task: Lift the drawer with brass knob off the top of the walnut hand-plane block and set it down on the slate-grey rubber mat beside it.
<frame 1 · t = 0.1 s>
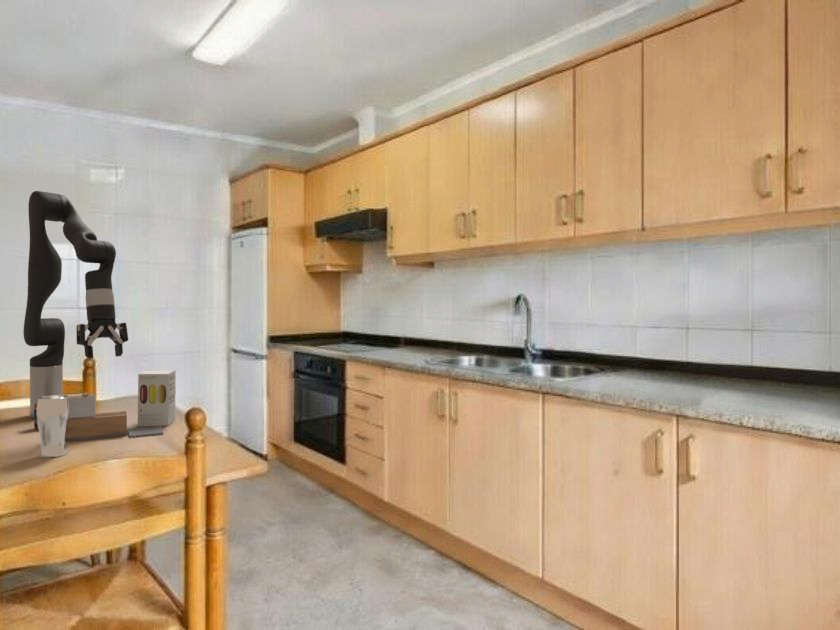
hand: (104, 357, 165), 22 cm above the table, tool pointing down, fingers open, 8 cm apart
beer glass: (53, 455, 139), on the table
supplement bottle: (44, 428, 167), on the table
supplement box: (157, 423, 176), on the table
mat: (145, 432, 163), on the table
drawer with brass knob: (79, 416, 157), point 6 cm above the table, touching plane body
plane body: (91, 436, 158), on the table
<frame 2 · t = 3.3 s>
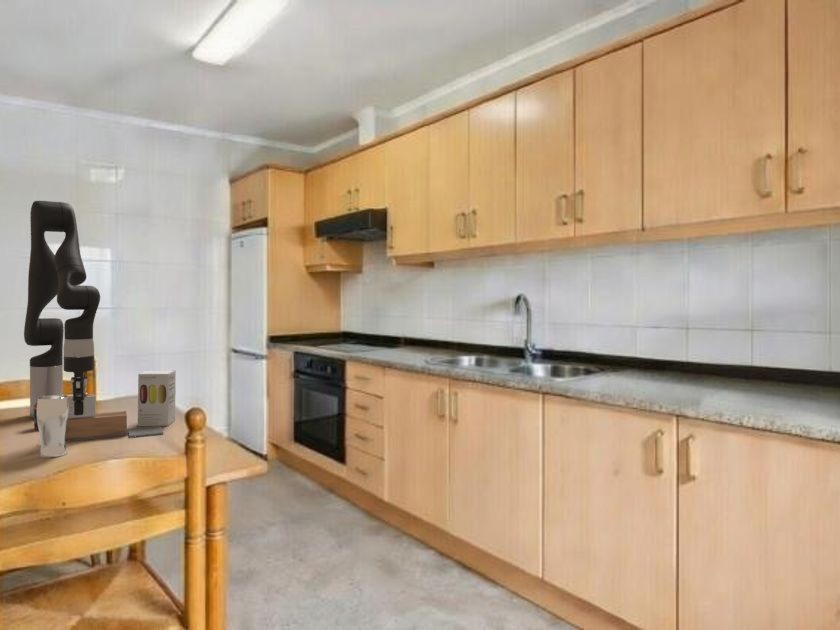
hand: (79, 413, 156), 7 cm above the table, tool pointing down, fingers closed on drawer with brass knob, 4 cm apart
drawer with brass knob: (79, 416, 157), point 6 cm above the table, touching gripper, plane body
everything else where it was.
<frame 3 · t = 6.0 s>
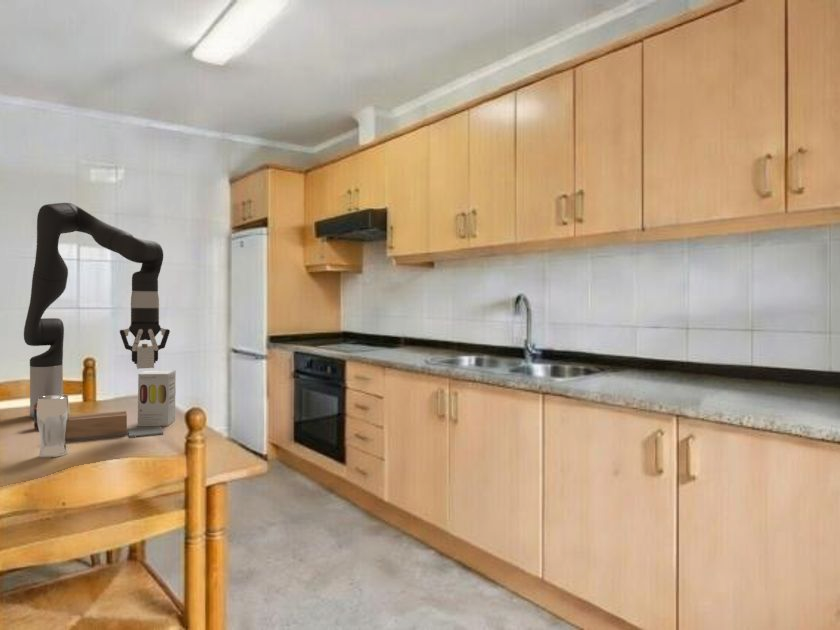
hand: (145, 362, 163), 21 cm above the table, tool pointing down, fingers closed on drawer with brass knob, 4 cm apart
drawer with brass knob: (144, 366, 163), point 20 cm above the table, touching gripper
everything else where it was.
when the fingers open (3 cm above the table, at t = 9.1 s): drawer with brass knob drops 1 cm, resting on mat.
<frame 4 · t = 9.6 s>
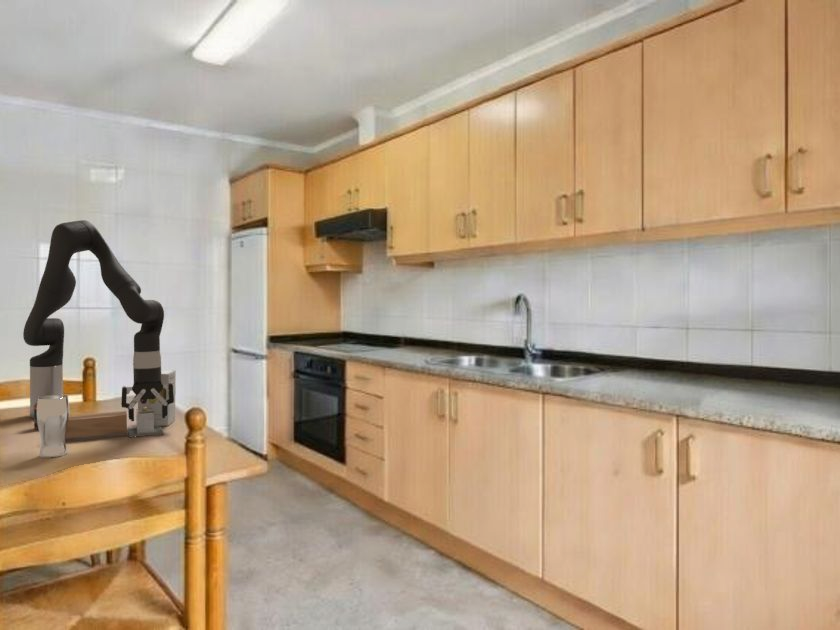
hand: (148, 419, 164), 4 cm above the table, tool pointing down, fingers open, 8 cm apart
drawer with brass knob: (145, 430, 163), point 1 cm above the table, touching mat
everything else where it was.
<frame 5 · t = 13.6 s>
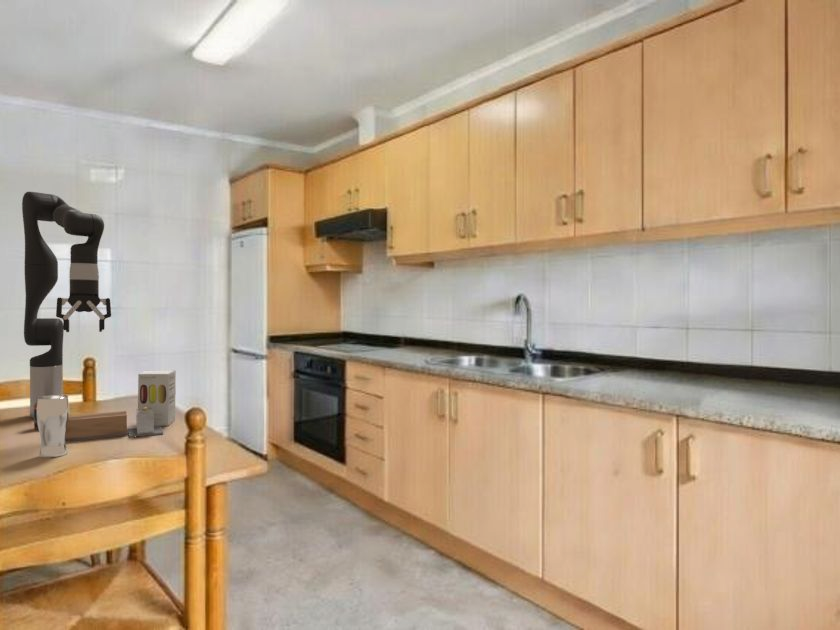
hand: (84, 331, 165), 30 cm above the table, tool pointing down, fingers open, 8 cm apart
nothing on the table moved.
at the end: drawer with brass knob inside the target area on the mat (0.1 cm from its centre), point 0.6 cm above the mat's base; drawer with brass knob touching mat; the gripper is holding nothing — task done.
